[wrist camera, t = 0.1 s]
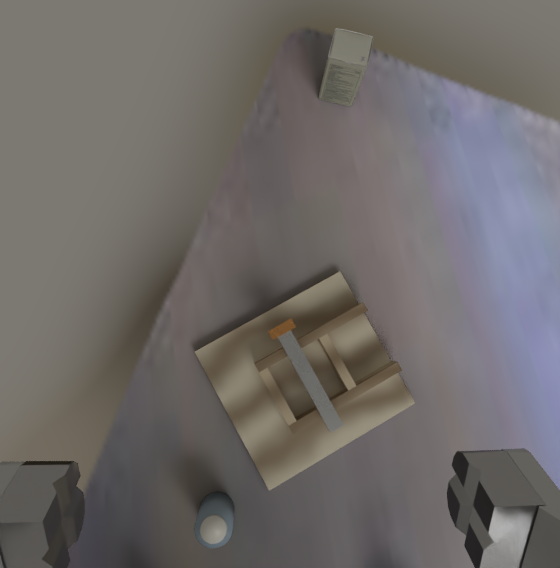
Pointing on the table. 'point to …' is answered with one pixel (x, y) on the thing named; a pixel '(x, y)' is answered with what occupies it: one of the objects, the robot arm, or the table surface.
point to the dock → (289, 389)
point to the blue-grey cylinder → (215, 520)
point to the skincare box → (345, 66)
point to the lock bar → (306, 374)
